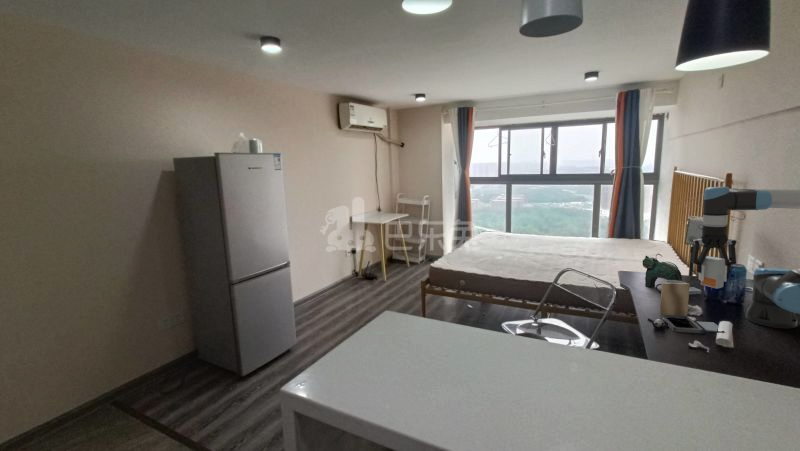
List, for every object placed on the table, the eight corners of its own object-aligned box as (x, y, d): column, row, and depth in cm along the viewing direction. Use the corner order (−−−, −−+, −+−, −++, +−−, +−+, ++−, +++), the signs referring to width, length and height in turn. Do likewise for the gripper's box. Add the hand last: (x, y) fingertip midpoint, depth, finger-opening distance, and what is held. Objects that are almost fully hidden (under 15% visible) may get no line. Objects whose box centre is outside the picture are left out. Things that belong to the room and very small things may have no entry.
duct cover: (687, 315, 156) (686, 314, 157) (689, 284, 153) (688, 283, 154) (660, 314, 160) (659, 313, 160) (662, 283, 157) (661, 282, 157)
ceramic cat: (640, 285, 203) (641, 252, 201) (649, 284, 205) (650, 250, 203) (676, 295, 185) (678, 258, 182) (685, 293, 186) (687, 257, 184)
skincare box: (700, 285, 147) (701, 257, 146) (707, 283, 149) (708, 255, 147) (716, 289, 142) (718, 260, 140) (724, 287, 143) (725, 258, 141)
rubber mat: (713, 323, 151) (713, 322, 151) (724, 332, 142) (724, 331, 142) (696, 322, 153) (696, 321, 153) (706, 331, 144) (706, 330, 144)
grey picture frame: (687, 319, 157) (687, 315, 156) (703, 333, 143) (703, 329, 142) (660, 317, 160) (660, 314, 160) (673, 331, 146) (673, 328, 146)
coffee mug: (688, 301, 175) (689, 282, 174) (682, 306, 171) (683, 286, 169) (661, 296, 185) (662, 278, 184) (654, 300, 180) (655, 281, 179)
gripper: (740, 223, 142) (736, 278, 145) (681, 224, 149) (679, 277, 152) (751, 226, 135) (747, 283, 138) (689, 227, 142) (687, 282, 145)
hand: (712, 280), depth 145 cm, fingers closed on skincare box, 7 cm apart
